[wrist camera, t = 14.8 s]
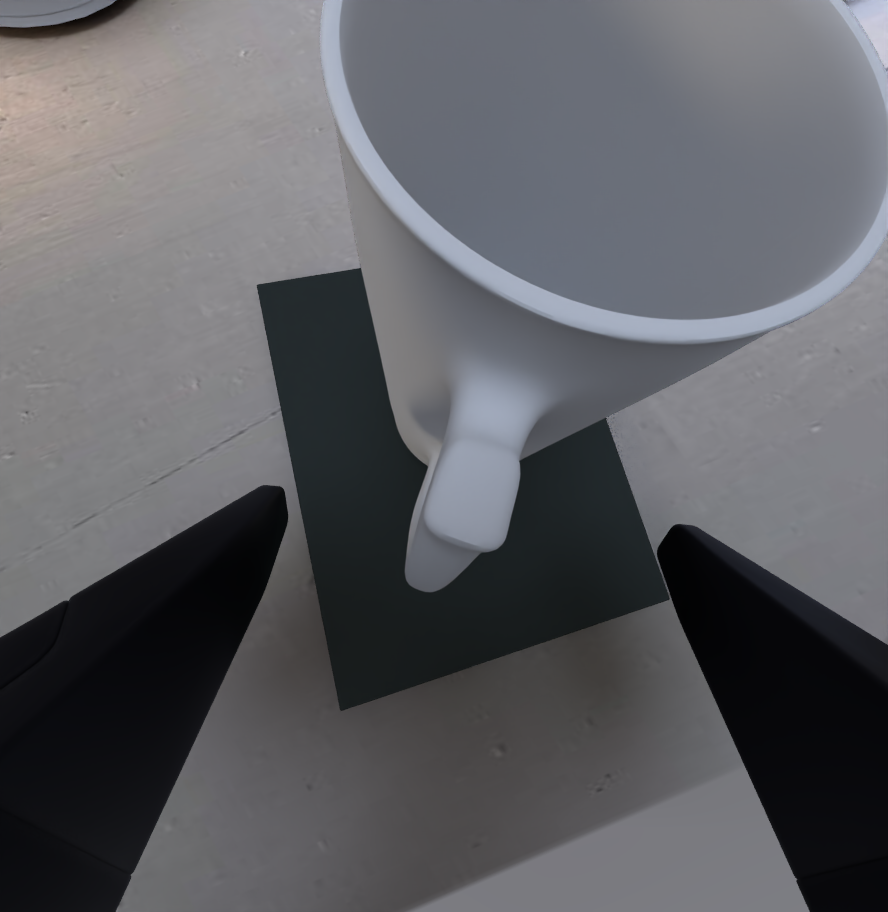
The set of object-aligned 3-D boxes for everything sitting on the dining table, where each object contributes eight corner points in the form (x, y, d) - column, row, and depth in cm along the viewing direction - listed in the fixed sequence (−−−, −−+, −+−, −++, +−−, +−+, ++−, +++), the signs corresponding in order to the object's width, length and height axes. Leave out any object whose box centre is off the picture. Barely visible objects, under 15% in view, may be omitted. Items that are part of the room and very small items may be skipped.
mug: (419, 318, 16) (447, -221, 4) (554, 368, 16) (920, -20, 5) (333, 527, 14) (-45, 544, 2) (489, 583, 14) (863, 856, 3)
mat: (663, 597, 15) (670, 599, 15) (342, 706, 13) (340, 711, 13) (539, 244, 18) (542, 238, 18) (259, 290, 16) (256, 284, 16)
